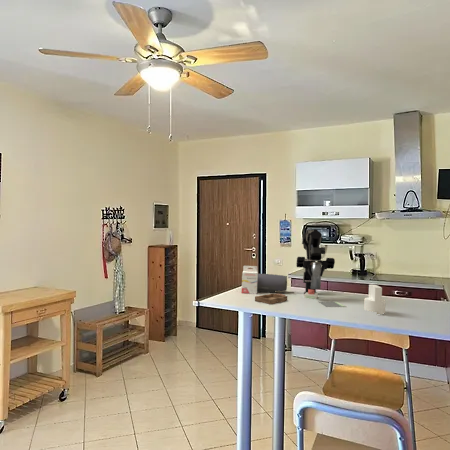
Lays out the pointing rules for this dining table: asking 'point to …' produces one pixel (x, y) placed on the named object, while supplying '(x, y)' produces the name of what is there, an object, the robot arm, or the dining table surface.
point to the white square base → (311, 295)
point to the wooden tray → (271, 298)
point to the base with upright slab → (375, 300)
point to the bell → (316, 275)
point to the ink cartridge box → (249, 279)
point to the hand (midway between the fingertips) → (316, 275)
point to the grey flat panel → (332, 304)
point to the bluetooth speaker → (271, 283)
